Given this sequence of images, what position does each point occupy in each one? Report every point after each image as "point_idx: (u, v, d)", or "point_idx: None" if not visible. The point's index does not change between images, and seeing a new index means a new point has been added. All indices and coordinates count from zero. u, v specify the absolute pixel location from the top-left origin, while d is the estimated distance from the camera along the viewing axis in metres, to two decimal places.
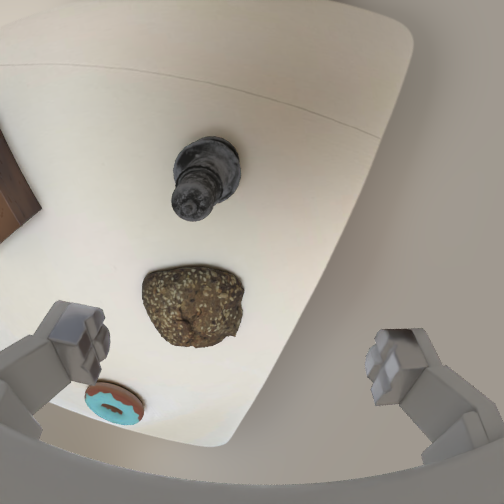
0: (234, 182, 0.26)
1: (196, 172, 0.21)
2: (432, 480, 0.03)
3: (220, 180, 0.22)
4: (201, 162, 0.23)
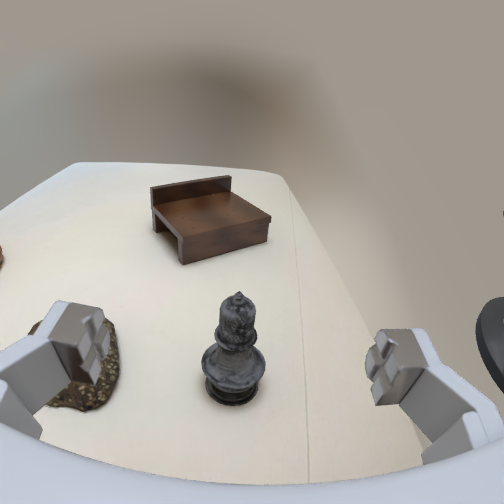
0: (229, 383, 0.25)
1: (252, 327, 0.25)
2: (432, 480, 0.03)
3: (246, 347, 0.24)
4: None
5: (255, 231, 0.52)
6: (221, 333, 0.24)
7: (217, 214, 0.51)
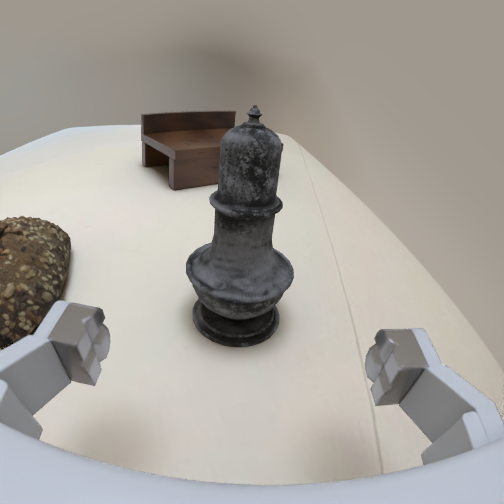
0: (232, 291, 0.15)
1: None
2: (432, 480, 0.03)
3: (266, 212, 0.14)
4: None
5: None
6: (221, 188, 0.14)
7: (219, 138, 0.40)
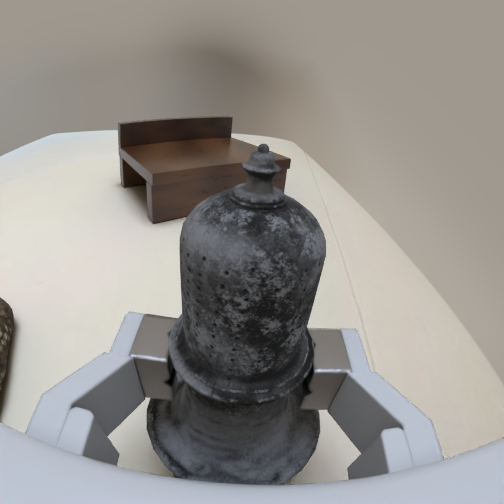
0: (221, 480, 0.07)
1: None
2: (432, 480, 0.03)
3: (283, 390, 0.06)
4: None
5: None
6: (188, 336, 0.06)
7: (211, 153, 0.33)
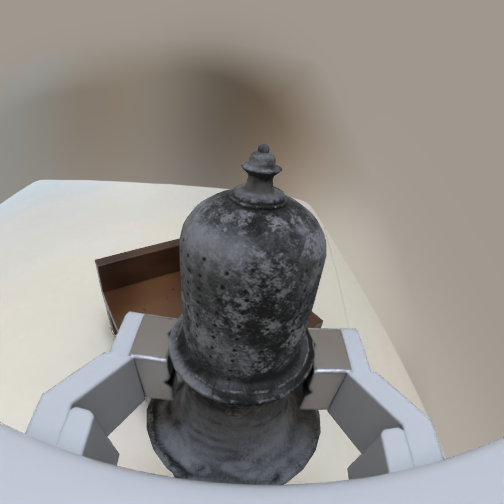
0: (221, 481, 0.07)
1: None
2: (432, 480, 0.03)
3: (283, 391, 0.06)
4: None
5: None
6: (189, 337, 0.06)
7: None
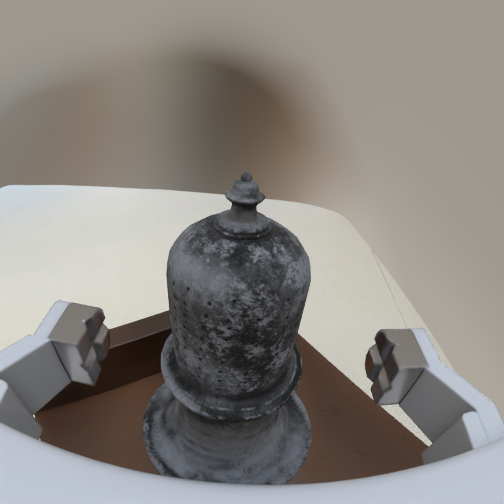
0: None
1: None
2: (432, 480, 0.03)
3: (270, 408, 0.06)
4: None
5: None
6: (178, 356, 0.06)
7: None
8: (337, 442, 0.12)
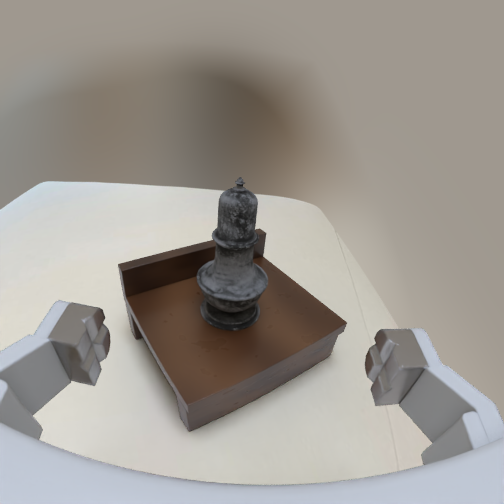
0: (226, 294, 0.23)
1: None
2: (432, 480, 0.03)
3: (247, 245, 0.22)
4: (252, 255, 0.25)
5: (317, 350, 0.27)
6: (219, 229, 0.23)
7: None
8: (287, 307, 0.28)
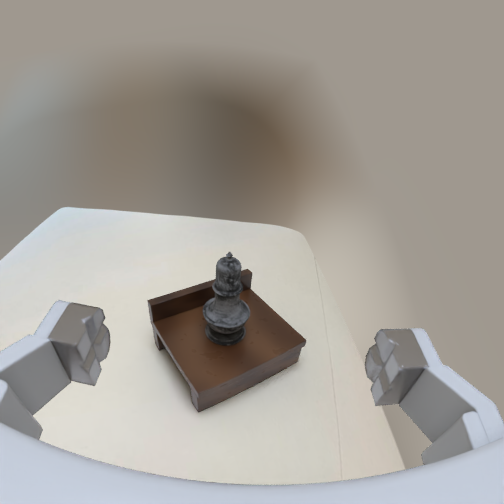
0: (222, 323, 0.36)
1: None
2: (432, 480, 0.03)
3: (234, 294, 0.35)
4: (239, 297, 0.37)
5: (285, 358, 0.39)
6: (217, 283, 0.35)
7: None
8: (265, 329, 0.41)
